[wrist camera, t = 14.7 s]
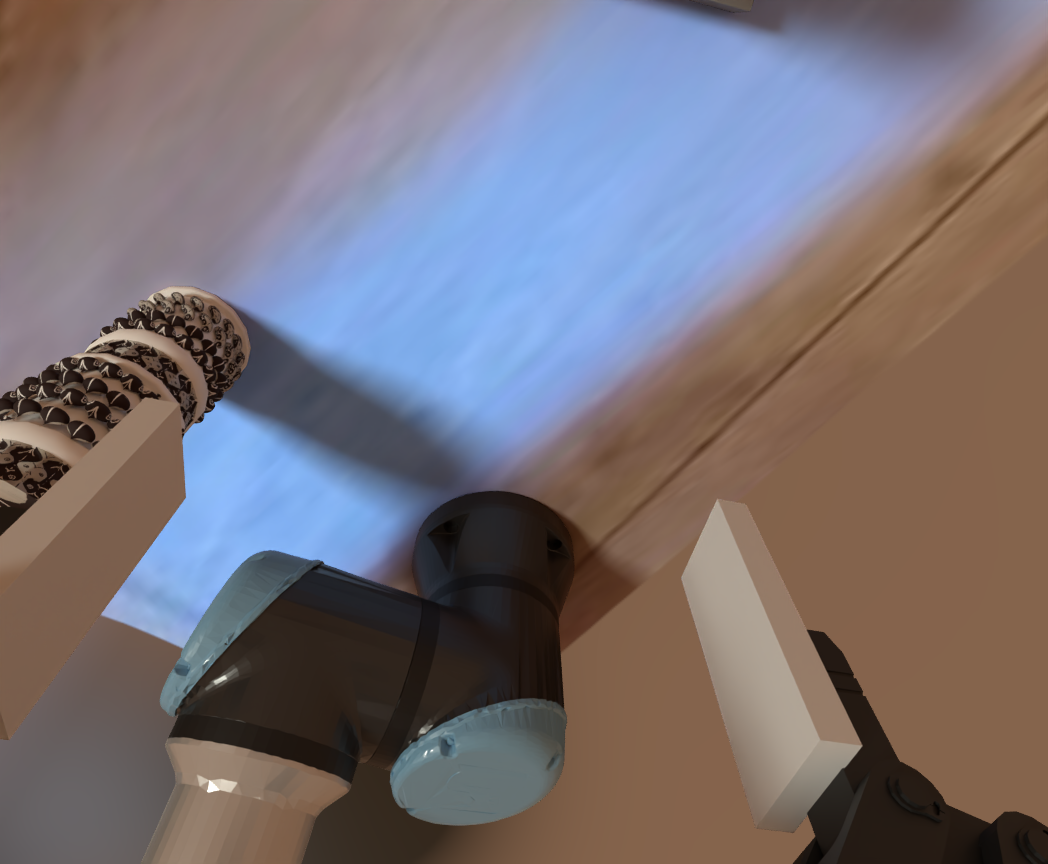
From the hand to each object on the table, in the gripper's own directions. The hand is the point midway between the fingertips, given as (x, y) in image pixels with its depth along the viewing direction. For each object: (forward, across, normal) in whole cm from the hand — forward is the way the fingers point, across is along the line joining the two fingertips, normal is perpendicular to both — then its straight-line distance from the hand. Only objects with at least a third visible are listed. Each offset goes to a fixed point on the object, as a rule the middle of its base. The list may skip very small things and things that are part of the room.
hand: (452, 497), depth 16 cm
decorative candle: (+35, +21, +15) cm, 43 cm away
